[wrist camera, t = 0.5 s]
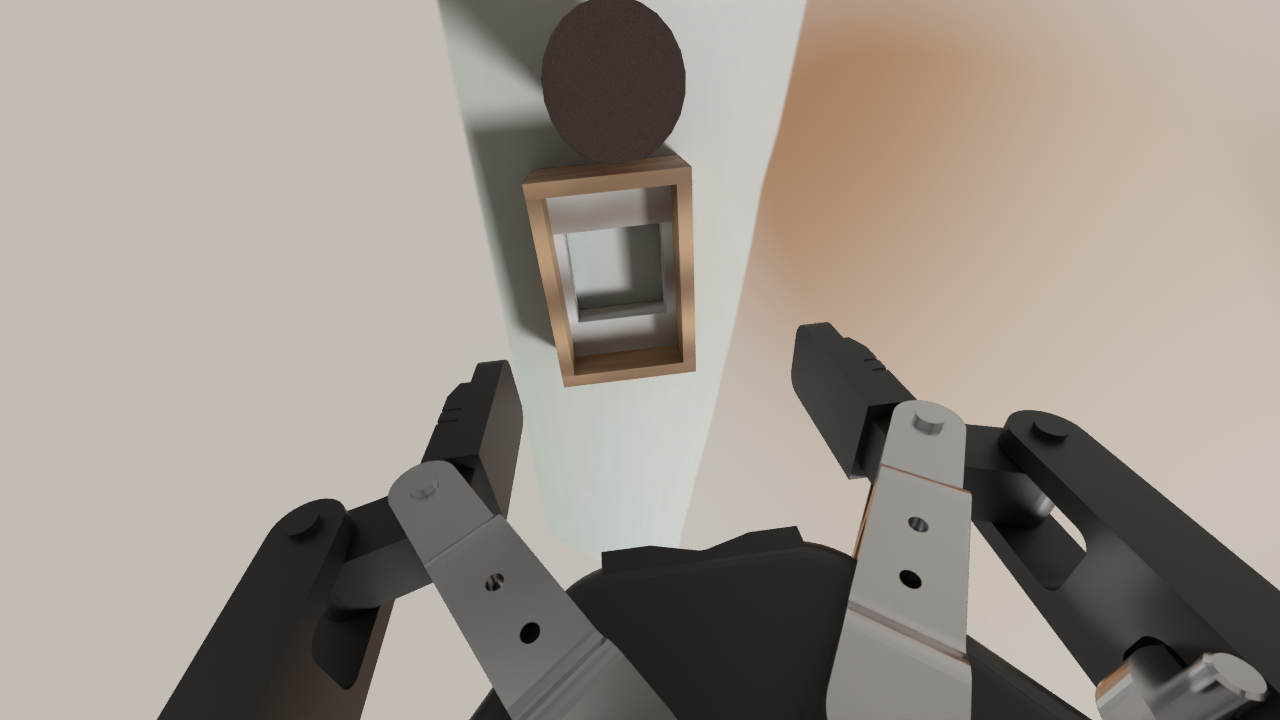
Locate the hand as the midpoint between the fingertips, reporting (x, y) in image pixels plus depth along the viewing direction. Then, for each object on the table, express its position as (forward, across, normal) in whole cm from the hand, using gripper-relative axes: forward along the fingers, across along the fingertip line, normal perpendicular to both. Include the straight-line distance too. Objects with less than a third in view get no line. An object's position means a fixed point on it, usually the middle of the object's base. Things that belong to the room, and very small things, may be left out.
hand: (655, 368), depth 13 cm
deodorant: (+27, 0, -6) cm, 27 cm away
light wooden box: (+26, 0, +7) cm, 27 cm away
